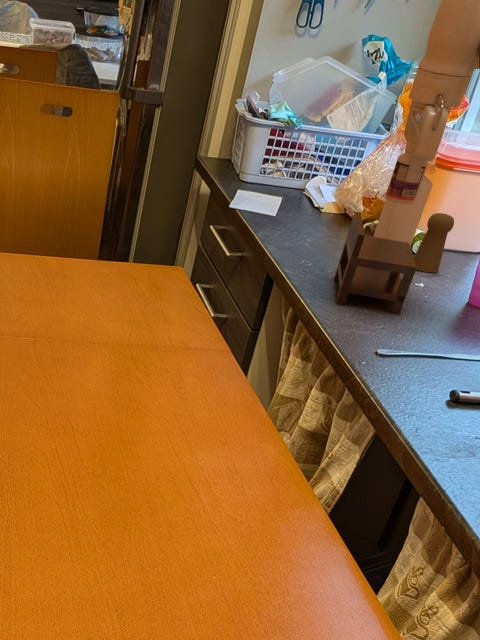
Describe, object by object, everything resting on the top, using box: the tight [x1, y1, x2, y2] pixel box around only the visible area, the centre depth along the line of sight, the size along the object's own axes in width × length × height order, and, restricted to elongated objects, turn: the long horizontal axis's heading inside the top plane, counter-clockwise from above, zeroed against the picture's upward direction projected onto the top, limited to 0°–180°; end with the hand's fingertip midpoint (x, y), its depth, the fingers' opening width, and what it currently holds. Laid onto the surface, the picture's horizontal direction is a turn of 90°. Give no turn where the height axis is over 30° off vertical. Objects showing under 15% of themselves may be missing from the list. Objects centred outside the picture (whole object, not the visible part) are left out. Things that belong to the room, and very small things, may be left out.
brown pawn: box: [413, 212, 455, 273], centre depth 199 cm, size 6×6×11 cm
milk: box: [372, 174, 434, 275], centre depth 189 cm, size 6×6×22 cm
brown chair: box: [333, 211, 417, 316], centre depth 181 cm, size 12×16×13 cm
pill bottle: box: [385, 141, 429, 204], centre depth 170 cm, size 5×5×10 cm
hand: (407, 176), depth 170 cm, fingers closed on pill bottle, 5 cm apart
